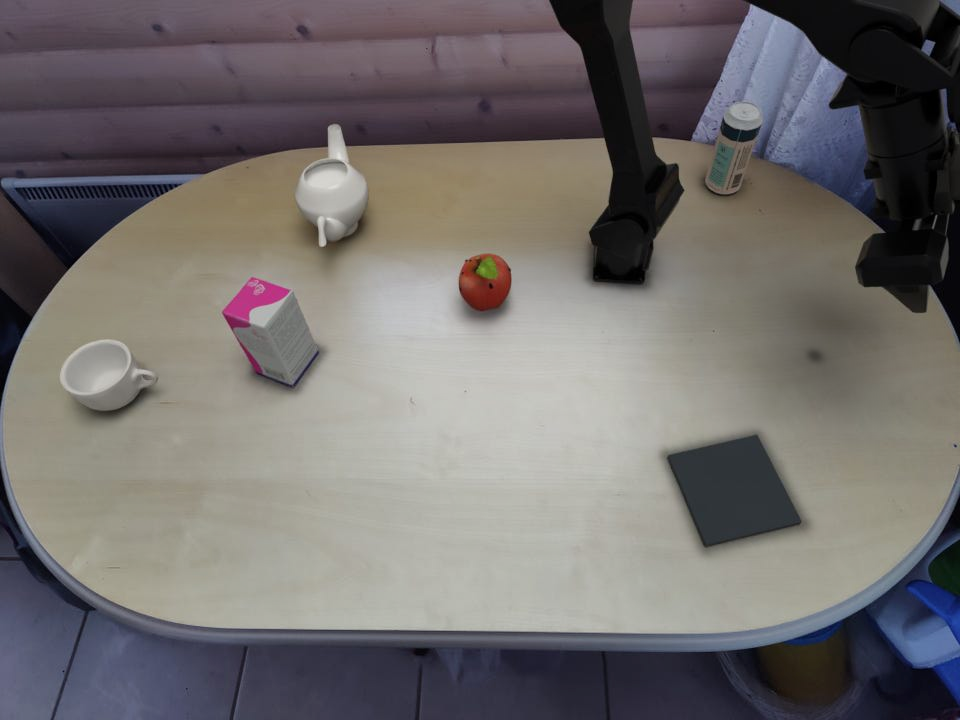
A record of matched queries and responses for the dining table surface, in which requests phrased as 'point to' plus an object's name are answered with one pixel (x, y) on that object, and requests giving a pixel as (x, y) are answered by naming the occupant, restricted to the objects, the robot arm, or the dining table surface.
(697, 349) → the dining table surface
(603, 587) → the dining table surface
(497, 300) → the apple
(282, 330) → the supplement box
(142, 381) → the teacup
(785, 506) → the mat
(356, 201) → the teapot
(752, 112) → the cream label cylinder
